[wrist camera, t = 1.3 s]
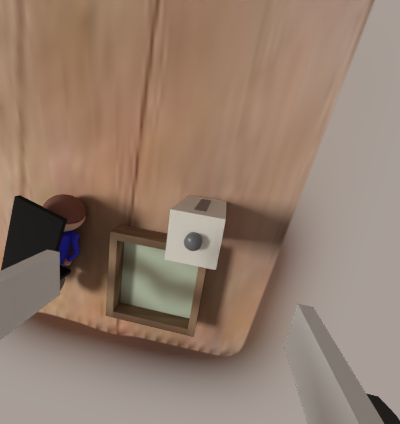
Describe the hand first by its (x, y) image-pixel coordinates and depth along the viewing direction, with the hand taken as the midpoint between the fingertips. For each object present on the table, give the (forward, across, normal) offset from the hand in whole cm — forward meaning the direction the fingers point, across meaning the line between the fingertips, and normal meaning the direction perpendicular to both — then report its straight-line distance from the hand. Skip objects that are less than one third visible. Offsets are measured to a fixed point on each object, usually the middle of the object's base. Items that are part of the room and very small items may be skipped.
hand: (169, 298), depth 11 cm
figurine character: (+17, -20, -7) cm, 27 cm away
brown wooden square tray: (+17, -5, -10) cm, 20 cm away
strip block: (+17, 0, 0) cm, 17 cm away
